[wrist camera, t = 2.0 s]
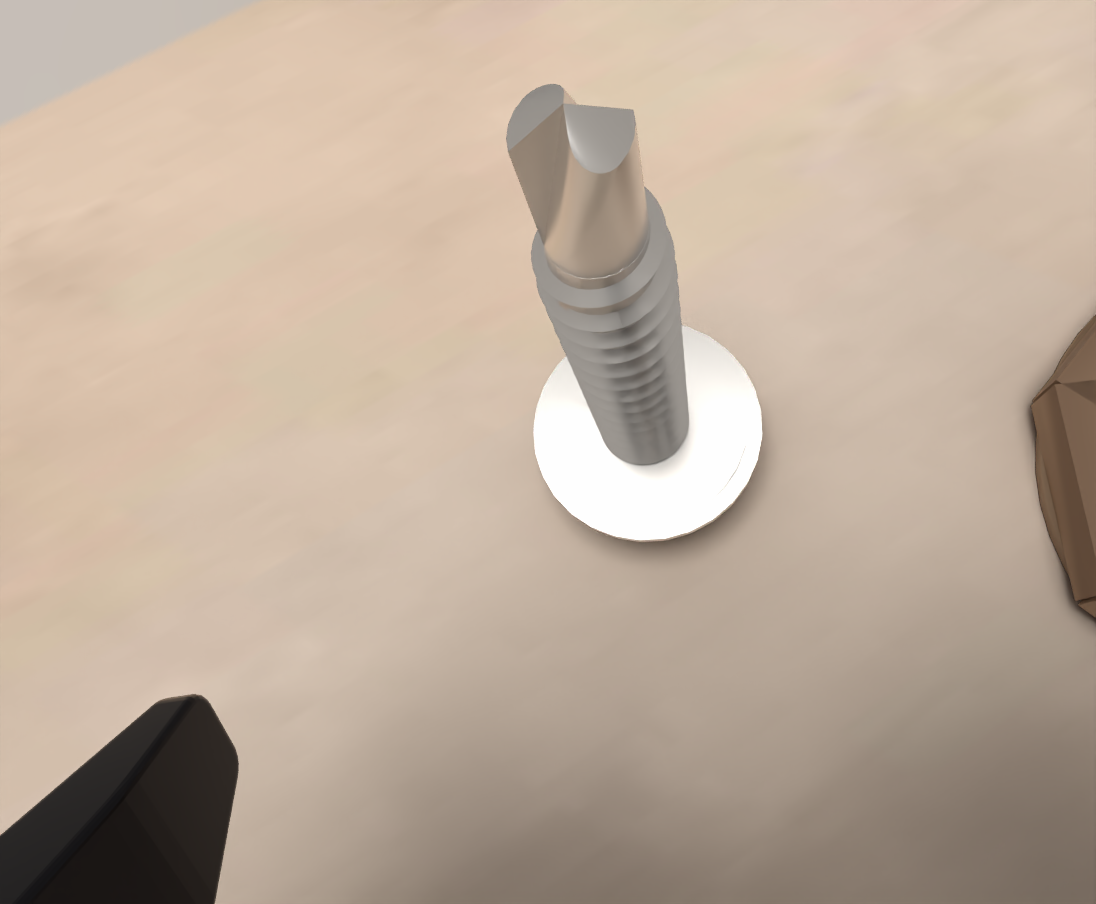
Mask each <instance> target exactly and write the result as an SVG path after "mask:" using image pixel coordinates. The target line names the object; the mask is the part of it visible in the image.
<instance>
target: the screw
mask: <svg viewBox="0 0 1096 904" xmlns="http://www.w3.org/2000/svg"><path fill="white" fill-rule="evenodd" d="M506 140H507V147H508V153H509V156H510V158H511V161H512V163H513V166H514V169H515V171H516V174H517V177H518V179H519V182H520V184H521V187H522V190H523V192H524V195H525V198H526V200H527V203H528V206H529V208H530V211H531V213H532V216H533V219H534V221H535V224H536V227H537V229H538V230H537V232H536V234H535V237H534V240H533V244H532V250H531V261H532V266H533V270H534V273H535V276H536V281H537V288H538V292H539V295H540V298H541V300H542V302H543V304H544V305H545V307H546V311H547V313H548V316H549V318H550V320H551V322H552V323H553V326H554V329H555V332H556V334H557V336H558V338H559V339H560V343H561V345H562V348H563V350H564V352H565V353H566V357H565V358H564V359H563V360H562V361H561V362H560V363H559V364H558V365H557V366H556V368H555V370H554V371H553V373H552V374H551V376H550V377H549V379H548V381H547V382H546V384H545V385H544V388H543V391H542V394H541V396H540V399H539V402H538V404H537V407H536V415H535V422H534V429H533V432H534V443H535V454H536V457H537V460H538V463H539V466H540V469H541V472H542V476H543V477H544V479H545V481H546V482H547V484H548V486H549V487H550V489H551V491H552V492H553V494H554V496H555V497H556V498H557V499H558V500H559V501H560V503H561V504H562V505H563V506H564V507H565V508H566V509H567V510H568V511H569V512H570V513H571V514H572V515H573V516H574V517H576V518H577V519H579V520H580V521H582V522H583V523H585V524H586V525H588V526H589V527H591V528H592V529H594V530H596V531H599V532H601V533H604V534H607V535H609V536H612V537H614V538H618V539H624V540H631V541H637V542H651V541H666V540H670V539H673V538H677V537H680V536H684V535H687V534H691V533H693V532H695V531H696V530H698V529H700V528H702V527H704V526H706V525H708V524H710V523H711V522H713V521H714V520H716V519H717V518H718V517H719V516H720V515H721V514H723V513H724V512H725V511H726V510H727V509H728V508H730V507H731V506H732V505H733V503H734V502H735V501H736V499H737V498H738V497H739V495H740V494H741V493H742V491H743V490H744V489H745V487H746V486H747V484H748V482H749V480H750V477H751V475H752V473H753V471H754V468H755V466H756V464H757V460H758V455H759V450H760V444H761V439H762V419H761V409H760V405H759V402H758V398H757V395H756V391H755V388H754V386H753V384H752V382H751V380H750V379H749V377H748V375H747V373H746V371H745V370H744V368H743V366H742V365H741V364H740V363H739V362H738V361H737V360H736V359H735V358H734V356H733V355H732V354H731V353H730V352H729V351H728V350H727V349H726V348H725V347H723V346H722V345H720V344H719V343H718V342H716V341H715V340H713V339H712V338H711V337H709V336H708V335H706V334H703V333H701V332H699V331H696V330H694V329H692V328H689V327H687V326H684V325H682V323H681V316H680V302H679V287H678V282H677V279H678V274H677V265H676V261H675V251H674V245H673V241H672V237H671V234H670V232H669V230H668V228H667V226H666V221H665V217H664V214H663V211H662V209H661V207H660V205H659V203H658V201H657V200H656V198H655V197H654V196H653V195H652V193H651V192H650V191H649V190H648V189H647V188H646V187H644V181H643V174H642V166H641V159H640V151H639V144H638V136H637V129H636V122H635V116H634V111H633V110H631V109H619V108H608V107H597V106H586V105H577V104H576V102H575V101H574V100H573V99H572V98H571V96H570V95H569V94H568V93H567V92H566V91H565V90H564V89H563V88H562V87H561V86H560V85H557V84H548V85H544V86H541V87H539V88H536V89H535V90H533V91H531V92H530V93H529V94H527V95H526V96H525V97H524V98H523V99H522V100H521V102H520V103H519V105H518V106H517V107H516V109H515V110H514V112H513V114H512V117H511V119H510V121H509V124H508V130H507V137H506Z"/></svg>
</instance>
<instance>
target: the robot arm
mask: <svg viewBox="0 0 1096 904" xmlns="http://www.w3.org/2000/svg"><path fill="white" fill-rule="evenodd" d="M238 765H239V763H238V756H237V753H236V749H235V747H234V745H233V743H232V741H231V740H230V738H229V736H228V734H227V733H226V731H225V729H224V727H223V726H222V724H221V722H220V720H219V718H218V717H217V715H216V713H215V711H214V710H213V708H212V706H211V704H210V703H209V701H208V700H207V699H206V698H204V697H203V696H201V695H196V694H191V695H185V696H178V697H171V698H166V699H163V700H160V701H158V702H157V703H155V704H154V705H153V706H151V707H150V708H149V709H148V710H147V711H146V712H144V713H143V714H142V715H141V716H140V717H139V718H137V719H136V720H135V721H134V722H133V723H132V724H130V725H129V726H128V727H127V728H126V729H125V730H123V731H122V732H121V733H120V734H119V735H117V736H116V737H115V738H114V739H113V740H112V741H110V742H109V743H108V744H107V745H106V746H105V747H103V748H102V749H101V750H100V751H99V752H98V753H96V754H95V755H94V756H93V757H92V758H90V759H89V760H88V761H87V762H86V763H85V764H83V765H82V766H81V767H80V768H79V769H78V770H76V771H75V772H74V773H73V774H72V775H71V776H69V777H68V778H67V779H66V780H65V781H64V782H62V783H61V784H60V785H59V786H58V787H56V788H55V789H54V790H53V791H52V792H51V793H49V794H48V795H47V796H46V797H45V798H44V799H42V800H41V801H40V802H39V803H38V804H37V805H35V806H34V807H33V808H32V809H31V810H30V811H28V812H27V813H26V814H25V815H24V816H22V817H21V818H20V819H19V820H18V821H17V822H15V823H14V824H13V825H12V826H11V827H10V828H8V829H7V830H6V831H5V832H4V833H3V834H1V835H0V904H215V899H216V893H217V888H218V882H219V877H220V871H221V866H222V860H223V855H224V849H225V844H226V838H227V833H228V828H229V822H230V817H231V811H232V806H233V800H234V795H235V789H236V784H237V778H238Z"/></svg>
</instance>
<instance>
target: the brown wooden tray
mask: <svg viewBox="0 0 1096 904" xmlns="http://www.w3.org/2000/svg"><path fill="white" fill-rule="evenodd" d="M1032 402H1034V403H1033V404H1032V405H1031V408H1032V413H1033V417H1034V422H1035V426H1036V430H1037V436H1036V478H1037V485H1038V492H1039V498H1040V505H1041V508H1042V512H1043V515H1044V518H1045V522H1046V525H1047V528H1048V532H1049V535H1050V538H1051V540H1052V542H1053V544H1054V547H1055V549H1056V551H1057V553H1058V556H1059V558H1060V560H1061V562H1062V565H1063V567H1064V569H1065V570H1066V572H1067V574H1068V575H1069V577H1070V581H1071V586H1072V590H1073V594H1074V599H1075V601H1079V600H1082V601H1081V602H1080V603H1079V605H1078V606H1080V607H1081V608H1083V609H1084V610H1085V611H1087V612H1088V613H1090V614H1091V615H1093V616H1094V617H1095V618H1096V315H1095V316H1094V317H1093V318H1092V319H1091V320H1090V321H1089V322H1088V323H1087V325H1086V326H1085V327H1084V328H1083V329H1082V330H1081V331H1080V332H1079V333H1078V335H1077V336H1076V337H1075V339H1074V340H1073V342H1072V343H1071V345H1070V346H1069V348H1068V349H1067V351H1066V352H1065V353H1064V355H1063V356H1062V358H1061V360H1060V362H1059V364H1058V366H1057V368H1056V370H1055V372H1054V374H1053V376H1052V377H1051V378H1050V379H1049V381H1048V382H1047V383H1046V384H1045V386H1044V387H1043V388H1042V389H1041V390H1040V392H1039V393H1038V394H1037V395H1036V397H1035V398H1034V399H1033V400H1032Z"/></svg>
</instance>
